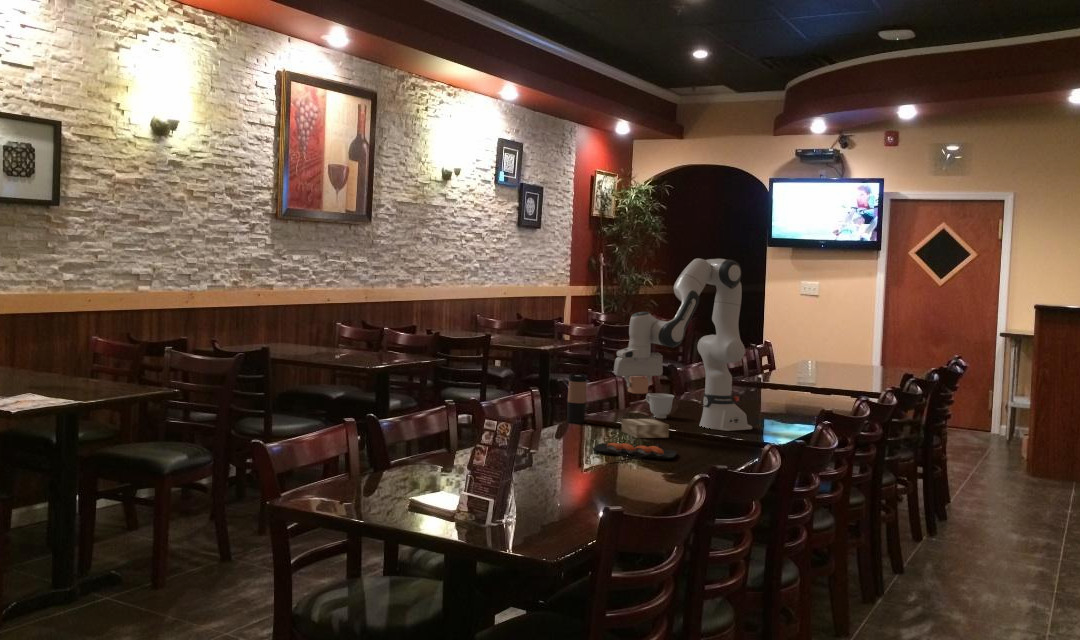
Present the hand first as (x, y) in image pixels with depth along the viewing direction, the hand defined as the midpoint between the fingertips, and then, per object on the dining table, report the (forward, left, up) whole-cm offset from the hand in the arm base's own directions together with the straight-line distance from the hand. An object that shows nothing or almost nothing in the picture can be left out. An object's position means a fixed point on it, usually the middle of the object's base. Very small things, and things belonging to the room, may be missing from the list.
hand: (637, 387), depth 379 cm
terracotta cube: (0, 0, -2) cm, 2 cm away
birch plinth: (-2, +4, -19) cm, 19 cm away
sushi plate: (+24, +46, -19) cm, 55 cm away
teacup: (-28, -36, -19) cm, 50 cm away
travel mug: (+16, -25, -19) cm, 35 cm away
